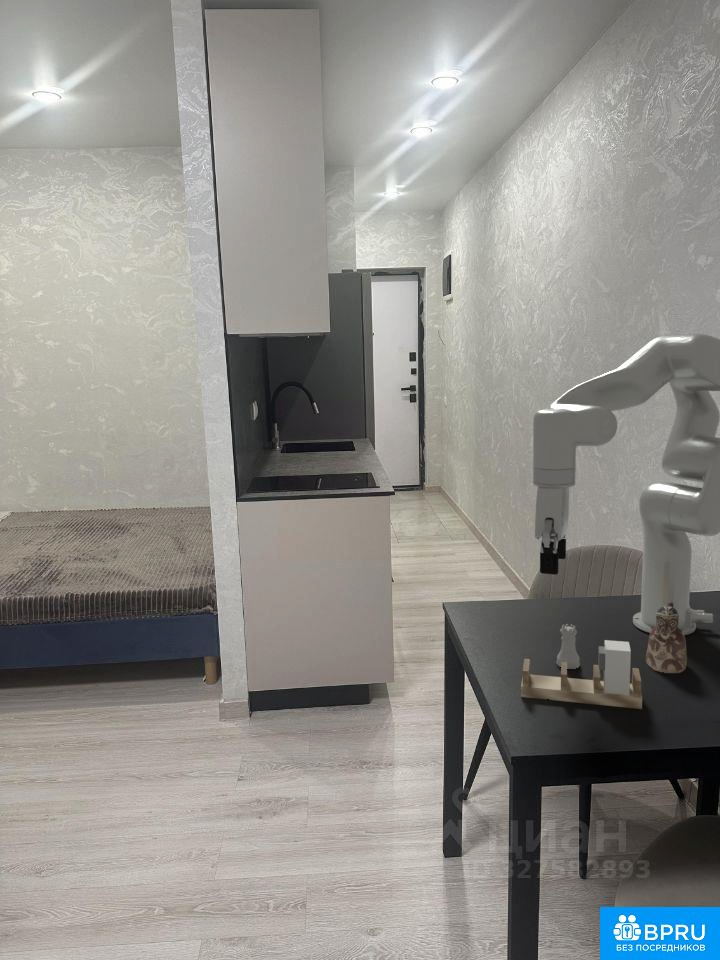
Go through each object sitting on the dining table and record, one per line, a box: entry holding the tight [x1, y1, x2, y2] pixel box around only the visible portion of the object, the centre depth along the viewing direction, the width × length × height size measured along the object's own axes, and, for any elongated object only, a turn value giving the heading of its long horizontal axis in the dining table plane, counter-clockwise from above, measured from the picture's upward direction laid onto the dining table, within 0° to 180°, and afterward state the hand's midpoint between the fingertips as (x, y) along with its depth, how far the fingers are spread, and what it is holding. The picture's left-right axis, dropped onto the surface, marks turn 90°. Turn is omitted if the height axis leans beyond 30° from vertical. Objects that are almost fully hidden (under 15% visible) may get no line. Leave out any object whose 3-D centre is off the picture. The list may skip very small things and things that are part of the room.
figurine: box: [645, 602, 688, 674], centre depth 132 cm, size 7×7×12 cm
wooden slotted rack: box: [520, 658, 643, 710], centre depth 122 cm, size 20×5×5 cm, turn 74°
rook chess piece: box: [555, 623, 581, 670], centre depth 134 cm, size 4×4×8 cm
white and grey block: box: [597, 639, 632, 695], centre depth 120 cm, size 5×4×8 cm
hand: (553, 565), depth 131 cm, fingers open, 9 cm apart
